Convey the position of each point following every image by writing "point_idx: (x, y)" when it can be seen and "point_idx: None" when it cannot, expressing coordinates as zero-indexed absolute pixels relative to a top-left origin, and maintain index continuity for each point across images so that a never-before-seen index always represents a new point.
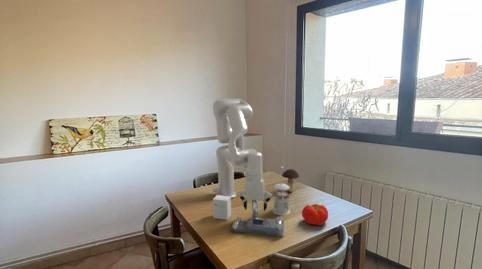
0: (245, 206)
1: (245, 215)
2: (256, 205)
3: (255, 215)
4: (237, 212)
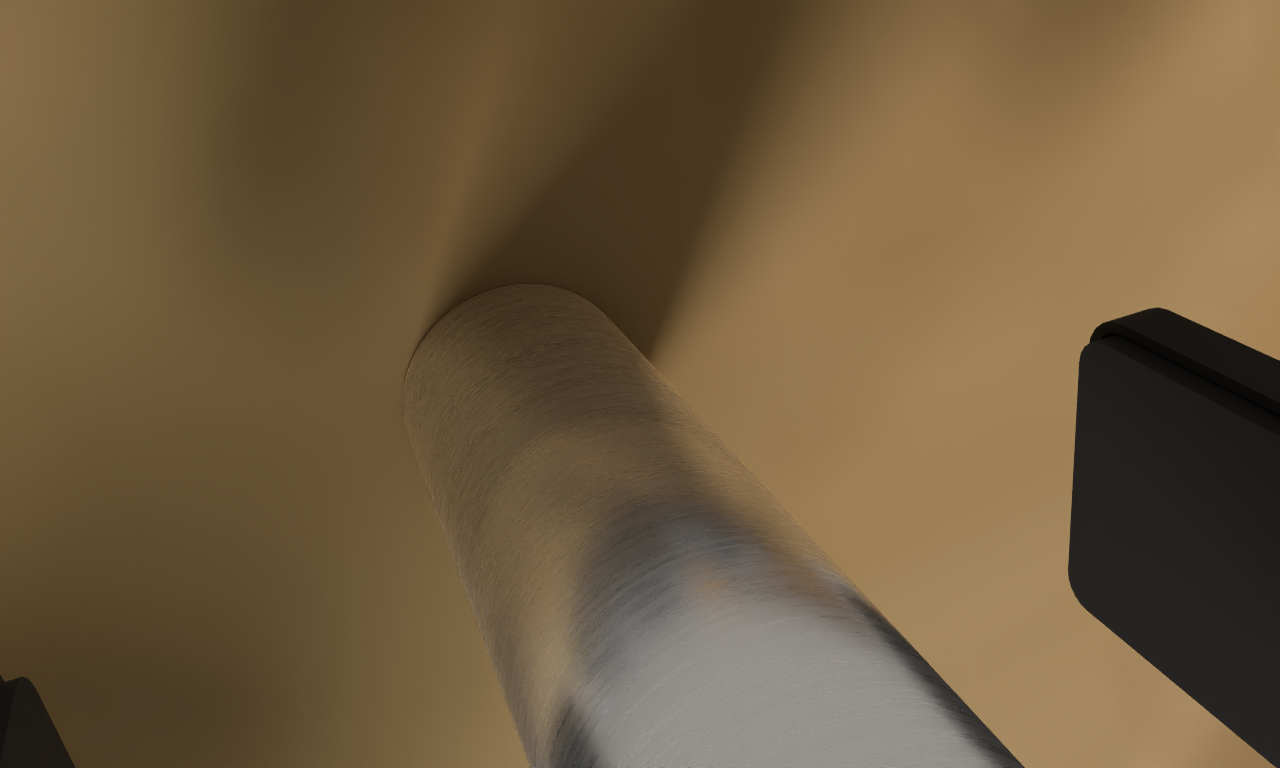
0: (1265, 390)
1: (896, 447)
2: (634, 764)
3: (505, 380)
4: None
